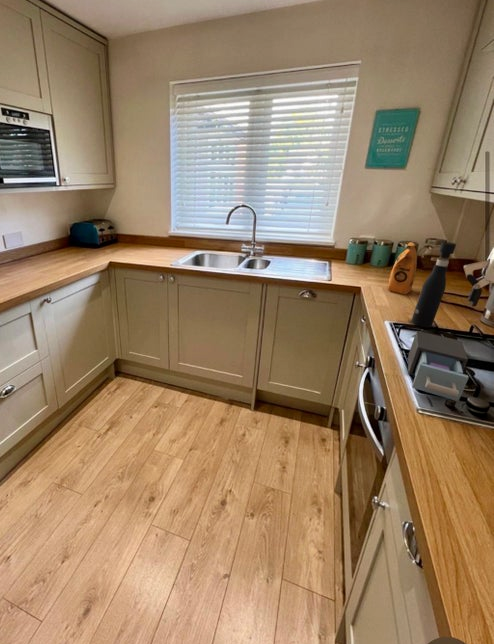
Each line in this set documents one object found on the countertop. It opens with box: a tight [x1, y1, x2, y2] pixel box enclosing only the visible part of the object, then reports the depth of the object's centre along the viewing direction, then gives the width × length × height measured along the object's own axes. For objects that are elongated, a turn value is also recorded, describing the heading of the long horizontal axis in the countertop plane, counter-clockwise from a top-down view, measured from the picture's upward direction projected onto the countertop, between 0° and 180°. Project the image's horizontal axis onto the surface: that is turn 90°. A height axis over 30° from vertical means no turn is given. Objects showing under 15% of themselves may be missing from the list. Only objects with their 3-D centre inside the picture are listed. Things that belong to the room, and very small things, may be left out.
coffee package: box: [387, 241, 418, 295], centre depth 152 cm, size 10×12×22 cm
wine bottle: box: [410, 241, 457, 329], centre depth 116 cm, size 6×6×30 cm
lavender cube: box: [429, 362, 450, 371], centre depth 84 cm, size 4×4×4 cm
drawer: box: [411, 351, 469, 402], centre depth 82 cm, size 15×9×7 cm, turn 148°
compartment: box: [407, 330, 469, 377], centre depth 91 cm, size 12×11×9 cm
